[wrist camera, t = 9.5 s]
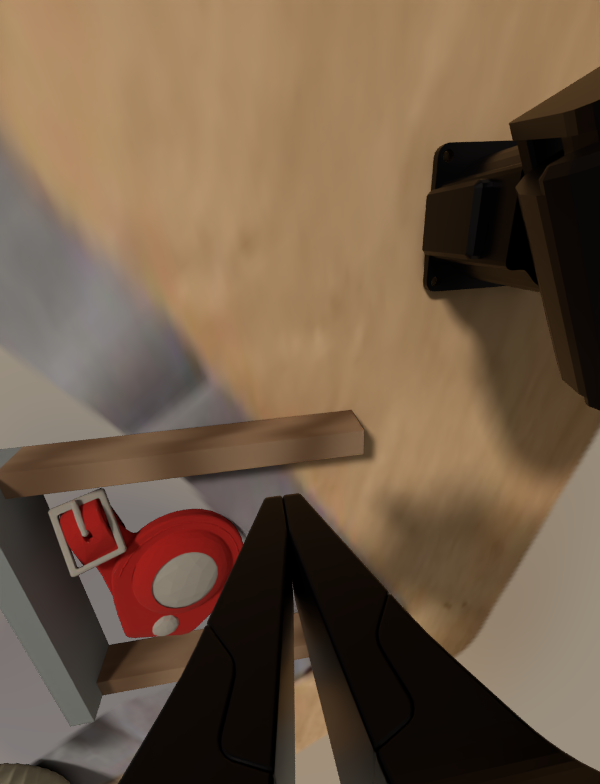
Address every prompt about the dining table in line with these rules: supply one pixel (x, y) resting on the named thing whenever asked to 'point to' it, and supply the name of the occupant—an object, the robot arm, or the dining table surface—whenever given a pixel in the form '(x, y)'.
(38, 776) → the canister
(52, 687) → the end stop
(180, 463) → the walnut channel
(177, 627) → the tracker holder
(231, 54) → the dining table surface
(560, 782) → the robot arm
